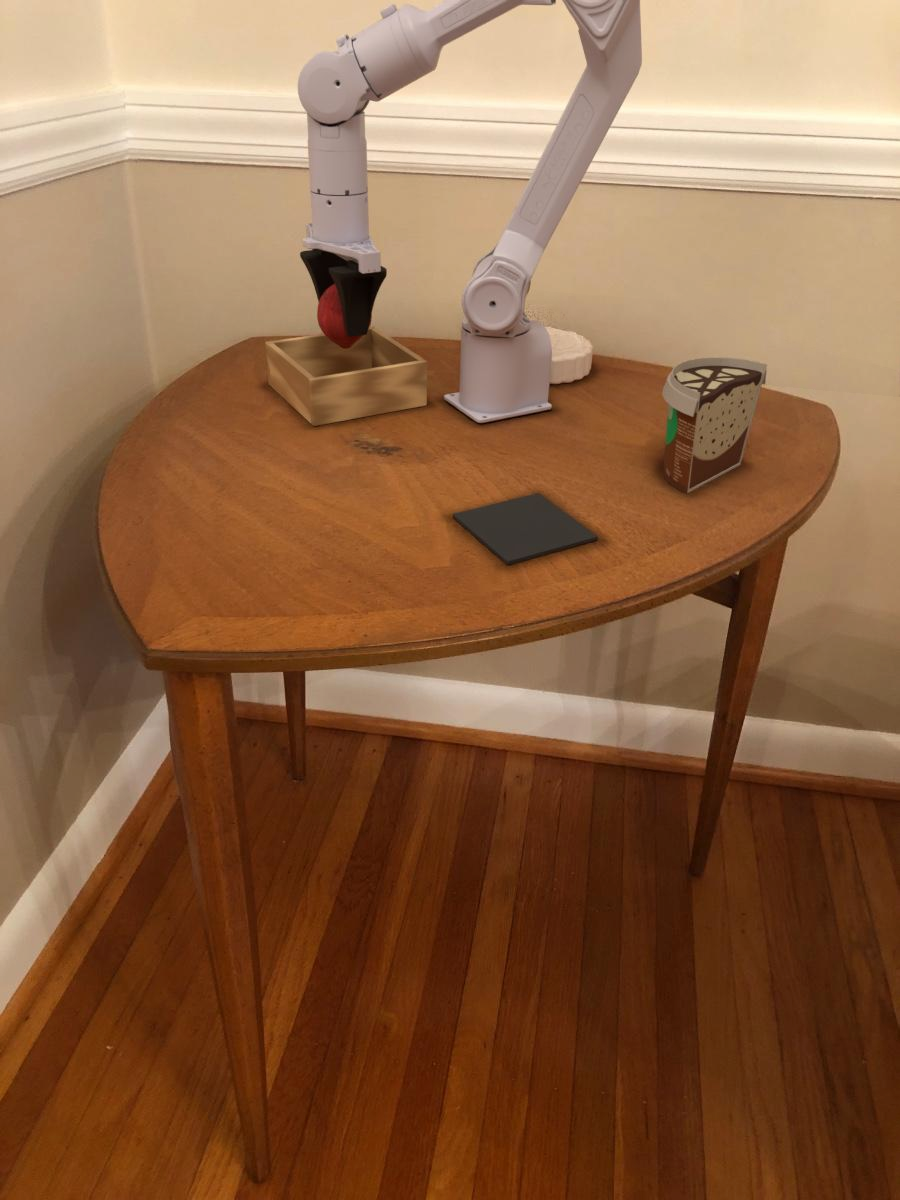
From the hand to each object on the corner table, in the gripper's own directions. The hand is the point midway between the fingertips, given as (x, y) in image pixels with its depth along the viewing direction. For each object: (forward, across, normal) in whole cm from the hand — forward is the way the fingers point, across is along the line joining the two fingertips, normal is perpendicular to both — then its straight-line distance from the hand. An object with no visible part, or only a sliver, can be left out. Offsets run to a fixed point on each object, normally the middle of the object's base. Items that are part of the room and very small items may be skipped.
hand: (344, 326), depth 101 cm
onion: (+3, 0, 0) cm, 3 cm away
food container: (+8, +32, +22) cm, 40 cm away
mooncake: (+8, +2, +25) cm, 26 cm away
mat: (+8, +35, +1) cm, 36 cm away
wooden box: (+8, 0, 0) cm, 8 cm away
